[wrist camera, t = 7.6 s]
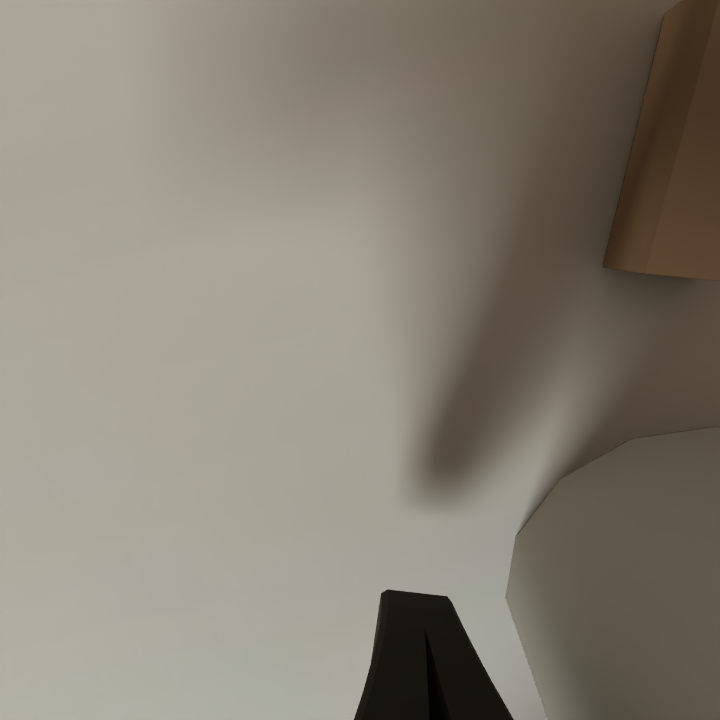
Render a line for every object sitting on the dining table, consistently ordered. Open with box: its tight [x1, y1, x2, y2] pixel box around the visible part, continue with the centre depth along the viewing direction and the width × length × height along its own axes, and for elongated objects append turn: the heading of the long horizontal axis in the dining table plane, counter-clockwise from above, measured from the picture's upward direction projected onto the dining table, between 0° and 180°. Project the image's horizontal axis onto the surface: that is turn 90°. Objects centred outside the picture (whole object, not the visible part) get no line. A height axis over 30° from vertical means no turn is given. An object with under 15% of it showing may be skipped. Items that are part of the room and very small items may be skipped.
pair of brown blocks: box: [603, 0, 720, 281], centre depth 11 cm, size 24×2×2 cm, turn 175°
